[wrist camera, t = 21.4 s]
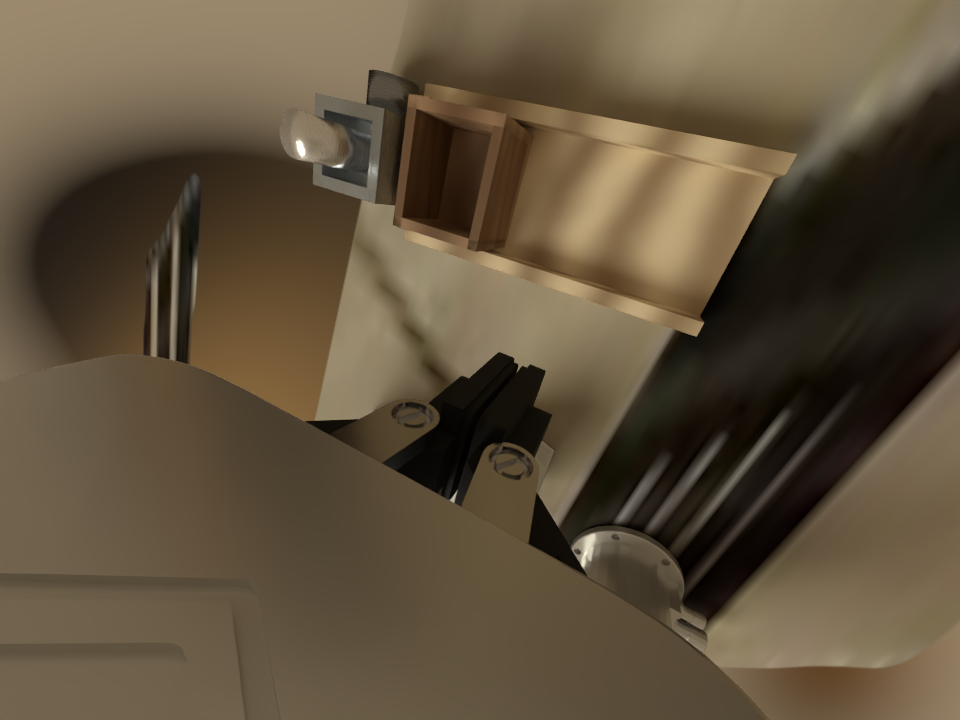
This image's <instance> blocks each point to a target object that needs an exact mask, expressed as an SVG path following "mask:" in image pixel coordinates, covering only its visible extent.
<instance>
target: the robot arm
mask: <svg viewBox="0 0 960 720" xmlns="http://www.w3.org/2000/svg"><path fill="white" fill-rule="evenodd" d="M517 369H518V364H516V363H514V358H513V357H510V356H508V355H505V354H503V353H500V352H499V353H497V354H496V355H495V356H494V357H493V358H492V359H490V360H489V361H488V362H487V363H486V364H485V365H484V366H483V367H481V368H480V369H479V370H478V371H477V372H476V373H475V374H474V375H472V376H471V377H470V378H466V377H464V376H461V377H459V378H458V379H457V380H456V381H455V382H453V383H452V384H451V385H450V386H449V387H447V388H446V389H445V390H444V391H443V392H441V393H440V394H439V395H438V396H437V397H435V398H434V399H433V400H432V401H431V402H429V403H426V402H424V401H420V400H416V399H401V400H397V401H395V402H392V403H390V404H388V405H386V406H384V407H382V408H380V409H378V410H376V411H374V412H372V413H370V414H368V415H366V416H364V417H362V418H360V419H353V420H326V421H303V420H301V419H299V418H297V417H295V416H293V415H291V414H290V413H288V412H286V411H284V410H282V409H280V408H278V407H277V406H275V405H273V404H271V403H269V402H267V401H265V400H263V399H262V398H260V397H258V396H256V395H254V394H252V393H250V392H249V391H246V390H245V389H243V388H240V387H239V386H236V385H234V384H232V383H230V382H228V381H226V380H224V379H222V378H220V377H217V376H216V375H214V374H212V373H209V372H207V371H204V370H202V369H199V368H197V367H194V366H191V365H188V364H184V363H181V362H177V361H173V360H169V359H164V358H158V357H152V356H143V355H125V354H123V355H113V356H106V357H100V358H96V359H91V360H86V361H81V362H76V363H72V364H67V365H63V366H58V367H54V368H49V369H45V370H40V371H36V372H33V373H28V374H24V375H19V376H15V377H11V378H7V379H3V380H0V720H770V719H769V718H768V717H767V716H766V715H765V713H764V712H763V711H762V710H761V709H760V708H759V707H758V705H757V704H756V703H755V702H754V701H753V700H752V699H751V698H750V697H749V696H748V695H747V694H746V693H745V692H744V691H743V690H742V689H741V688H740V687H739V686H738V685H737V684H736V683H735V682H734V681H733V680H732V679H731V678H729V677H728V676H727V675H726V674H725V673H724V672H723V671H722V670H721V669H720V668H719V667H718V666H717V665H716V664H714V663H713V662H712V661H711V660H710V659H709V658H708V657H707V656H706V655H705V654H703V653H702V652H703V651H704V650H705V649H706V647H707V642H708V640H707V634H706V633H705V632H704V631H702V630H703V629H704V628H705V626H706V617H705V616H704V615H702V614H700V613H698V612H696V611H694V610H692V609H689V608H687V607H685V606H684V604H683V602H682V601H681V599H682V597H683V594H684V579H683V574H682V570H681V568H680V566H679V564H678V562H677V560H676V559H675V558H674V556H673V555H672V554H671V553H670V552H669V551H668V550H667V549H666V548H665V547H664V546H663V545H662V544H660V543H659V542H657V541H656V540H654V539H653V538H651V537H649V536H647V535H645V534H643V533H641V532H639V531H636V530H633V529H630V528H625V527H620V526H598V527H594V528H591V529H588V530H586V531H584V532H582V533H581V534H580V535H578V536H577V537H576V538H575V540H574V541H573V543H572V545H571V548H570V546H569V544H568V543H567V541H566V540H565V538H564V536H563V535H562V533H561V531H560V530H559V528H558V526H557V525H556V523H555V522H554V520H553V518H552V517H551V515H550V513H549V512H548V510H547V509H546V507H545V505H544V504H543V502H542V500H541V499H540V497H539V495H538V494H537V492H536V491H537V485H538V479H539V465H538V463H537V461H536V459H535V456H536V453H537V451H538V449H539V446H540V444H541V442H542V439H543V437H544V434H545V432H546V429H547V427H548V424H549V422H550V419H551V416H552V414H549V413H547V412H545V411H542V410H540V409H538V408H536V407H533V405H534V402H535V400H536V397H537V394H538V392H539V389H540V386H541V383H542V381H543V378H544V375H545V370H543V369H540V368H538V367H535V366H533V365H529V366H528V368H526V367H524V366H522V367H521V368H520V370H519V371H518V372H517ZM516 372H517V373H516ZM456 491H457V494H456V497H455V501H454V503H453V502H452V501H450V500H451V498H452V497H453V496H454V494H455V493H456ZM680 618H683V619H684V620H686V621H688V622H689V623H690V624H689V623H685V622H683V621H681V620H680ZM691 624H692V625H691ZM693 625H694V626H693ZM695 626H696V627H698V628H700V629H702V630H700V629H698V628H696V627H695Z"/></svg>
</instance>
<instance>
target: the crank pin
mask: <svg viewBox="0 0 960 720" xmlns="http://www.w3.org/2000/svg"><path fill="white" fill-rule="evenodd" d="M280 138H281V142H282V145H283V147H284V149H285V151H286V152H287V153H288V155H290V156H291V157H292V158H294V159H298V160H303V161H307V162H312V163H317V164H321V165H326V166H330V167H335V168H340V169H344V170H349V171H353V172H358V173H363V174H367V175H368V168H369V157H370V146H371V135H368V134H365V133H362V132H360V131H357V130H354V129H351V128H349V127H346V126H343V125H340V124H338V123H335V122H332V121H329V120H326V119H324V118H321V117H318V116H315V115H312V114H310V113H307V112H304V111H301V110H298V109H295V108H292V109H289V110H287V111H286V112H285V113H284V115H283V117H282V119H281V123H280Z"/></svg>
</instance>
